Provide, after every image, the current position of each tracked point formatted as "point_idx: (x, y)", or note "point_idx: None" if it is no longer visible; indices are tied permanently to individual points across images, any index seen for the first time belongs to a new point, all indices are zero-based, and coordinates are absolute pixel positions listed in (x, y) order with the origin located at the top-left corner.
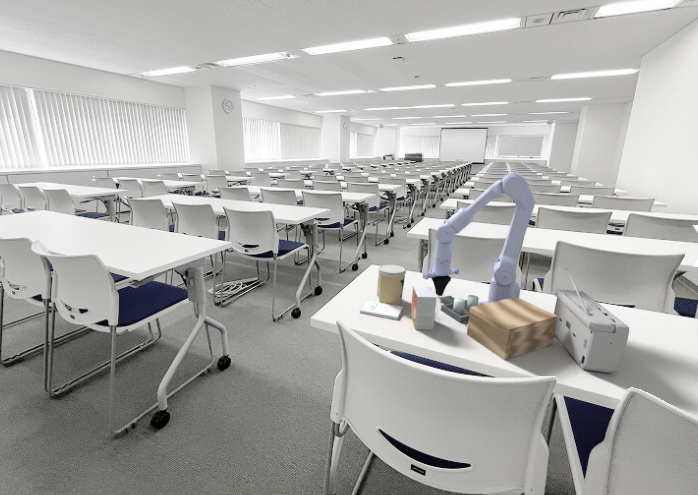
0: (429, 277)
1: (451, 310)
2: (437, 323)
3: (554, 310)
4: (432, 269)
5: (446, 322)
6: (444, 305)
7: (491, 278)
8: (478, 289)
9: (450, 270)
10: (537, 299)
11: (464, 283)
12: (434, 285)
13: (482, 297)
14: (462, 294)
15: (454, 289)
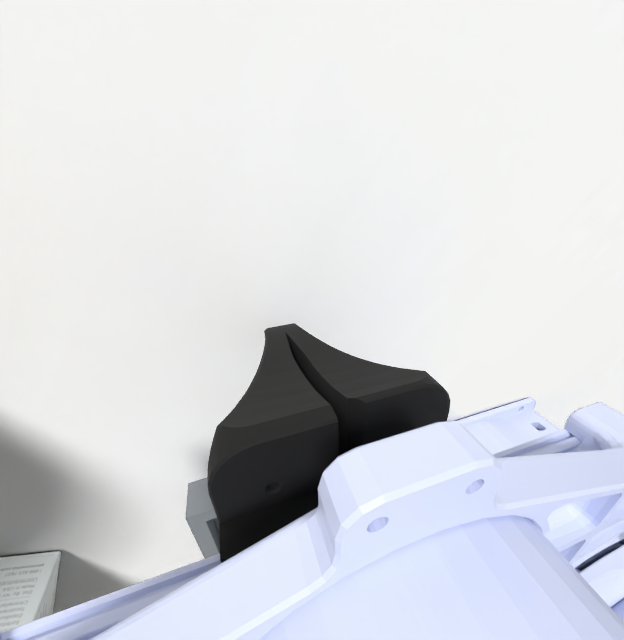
0: (83, 634)
1: (214, 554)
2: (101, 582)
3: None
4: (247, 634)
5: (156, 568)
6: (205, 518)
7: (597, 578)
8: (573, 275)
9: (546, 533)
10: (612, 401)
11: (614, 151)
12: (259, 368)
13: (495, 367)
14: (449, 319)
15: (473, 232)
